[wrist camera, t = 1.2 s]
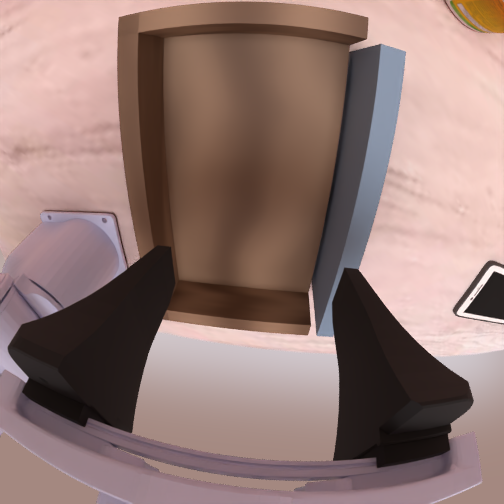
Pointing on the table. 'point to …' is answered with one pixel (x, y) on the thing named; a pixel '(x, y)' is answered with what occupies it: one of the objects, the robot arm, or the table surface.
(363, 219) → the panel
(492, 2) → the supplement bottle
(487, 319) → the cell phone
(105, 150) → the table surface
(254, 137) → the brown drawer
